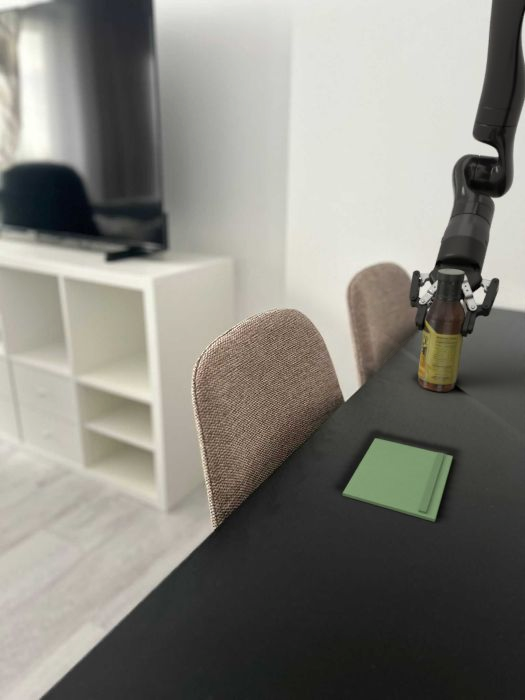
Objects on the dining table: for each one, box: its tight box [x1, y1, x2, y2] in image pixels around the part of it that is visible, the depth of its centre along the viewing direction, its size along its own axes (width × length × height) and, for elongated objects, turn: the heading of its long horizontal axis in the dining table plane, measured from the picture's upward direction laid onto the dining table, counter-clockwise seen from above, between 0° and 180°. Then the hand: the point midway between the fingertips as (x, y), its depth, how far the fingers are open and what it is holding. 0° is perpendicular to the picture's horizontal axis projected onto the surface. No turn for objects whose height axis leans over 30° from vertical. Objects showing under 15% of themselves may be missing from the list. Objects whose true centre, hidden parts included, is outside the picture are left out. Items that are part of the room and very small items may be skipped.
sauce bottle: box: [417, 269, 466, 393], centre depth 84 cm, size 6×6×20 cm
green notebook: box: [342, 437, 454, 523], centre depth 61 cm, size 14×10×1 cm
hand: (441, 330), depth 82 cm, fingers closed on sauce bottle, 6 cm apart
